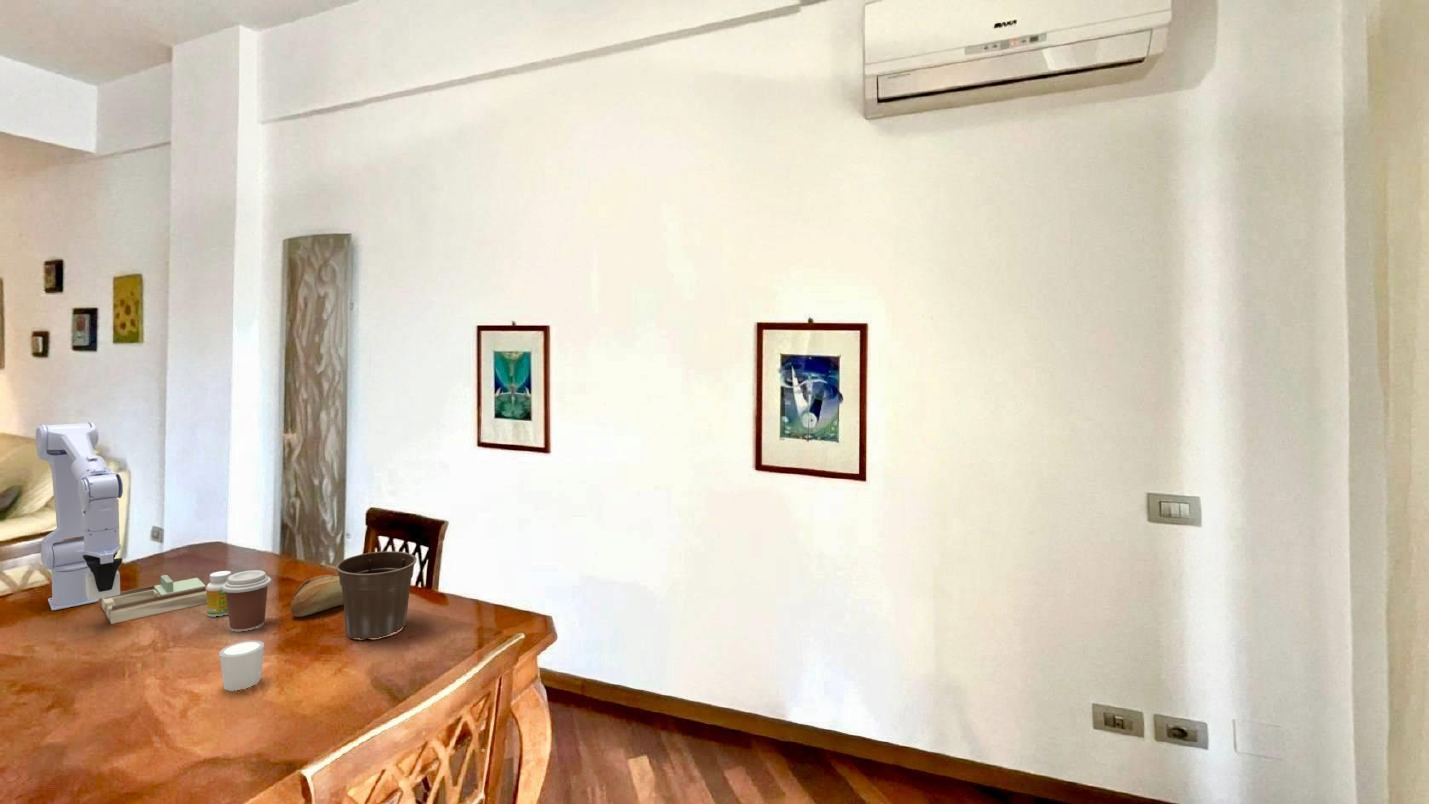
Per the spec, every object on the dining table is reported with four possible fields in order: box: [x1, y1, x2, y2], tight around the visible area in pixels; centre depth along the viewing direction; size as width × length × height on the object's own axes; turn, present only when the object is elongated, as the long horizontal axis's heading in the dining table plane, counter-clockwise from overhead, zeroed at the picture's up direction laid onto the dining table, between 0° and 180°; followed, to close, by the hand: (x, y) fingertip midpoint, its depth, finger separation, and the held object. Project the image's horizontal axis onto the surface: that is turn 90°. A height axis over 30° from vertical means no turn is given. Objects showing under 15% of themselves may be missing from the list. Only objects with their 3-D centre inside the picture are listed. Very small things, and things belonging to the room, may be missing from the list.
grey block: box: [86, 569, 121, 601], centre depth 141 cm, size 5×5×5 cm
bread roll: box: [290, 574, 344, 618], centre depth 154 cm, size 10×15×8 cm, turn 157°
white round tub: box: [218, 640, 265, 692], centre depth 119 cm, size 7×7×7 cm
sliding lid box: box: [100, 577, 207, 625], centre depth 154 cm, size 15×18×3 cm
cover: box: [154, 574, 207, 596], centre depth 157 cm, size 8×8×3 cm
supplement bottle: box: [206, 570, 232, 618], centre depth 150 cm, size 5×5×10 cm
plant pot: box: [335, 550, 417, 640], centre depth 143 cm, size 16×16×16 cm
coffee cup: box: [222, 569, 272, 633], centre depth 143 cm, size 9×9×12 cm
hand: (103, 587), depth 141 cm, fingers closed on grey block, 5 cm apart
